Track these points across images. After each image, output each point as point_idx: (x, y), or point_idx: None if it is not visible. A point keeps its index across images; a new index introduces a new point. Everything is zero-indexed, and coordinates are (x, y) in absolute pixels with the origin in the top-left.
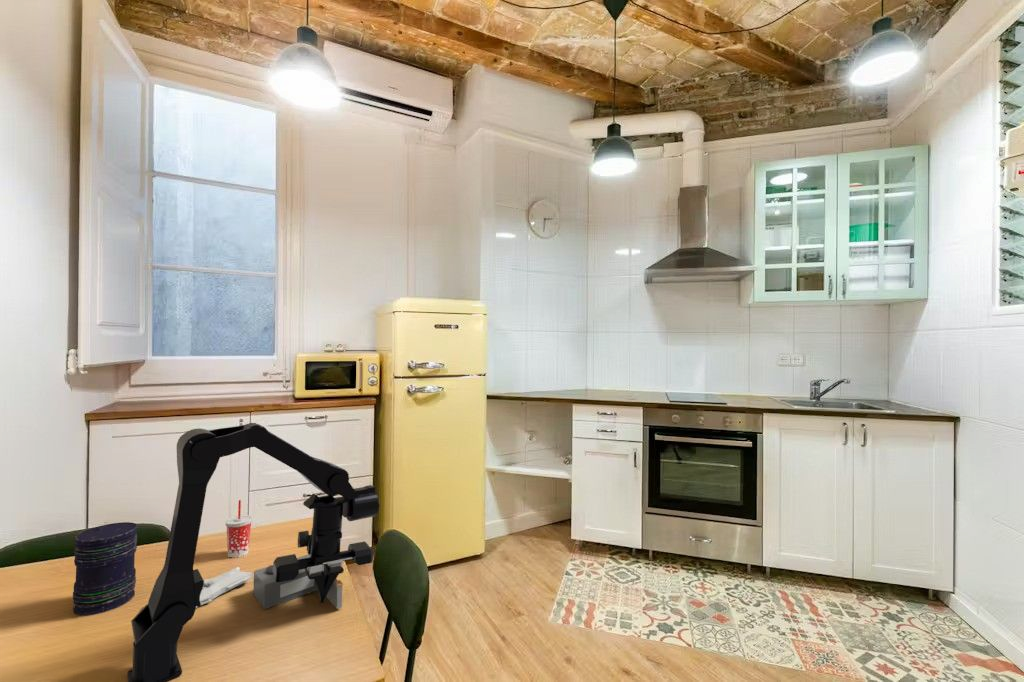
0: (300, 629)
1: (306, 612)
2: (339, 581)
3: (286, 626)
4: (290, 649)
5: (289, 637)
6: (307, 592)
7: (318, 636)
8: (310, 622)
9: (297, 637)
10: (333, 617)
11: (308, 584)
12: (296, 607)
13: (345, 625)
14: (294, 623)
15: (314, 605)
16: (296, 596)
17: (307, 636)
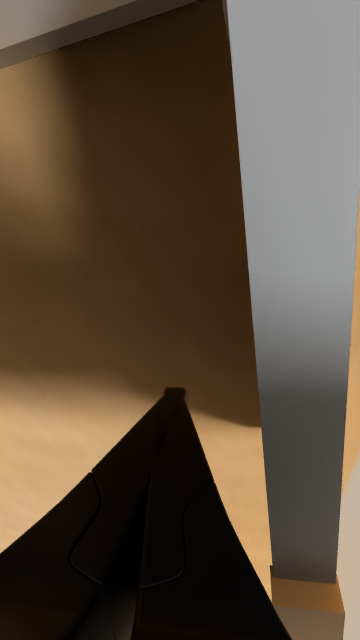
0: (69, 455)
1: (97, 340)
2: (327, 629)
3: (4, 400)
4: None
5: (29, 473)
6: (107, 27)
7: None
8: (114, 436)
9: (60, 490)
10: (228, 464)
11: (75, 2)
12: (33, 242)
13: (259, 537)
14: (39, 400)
15: (151, 290)
16: (7, 60)
17: None
